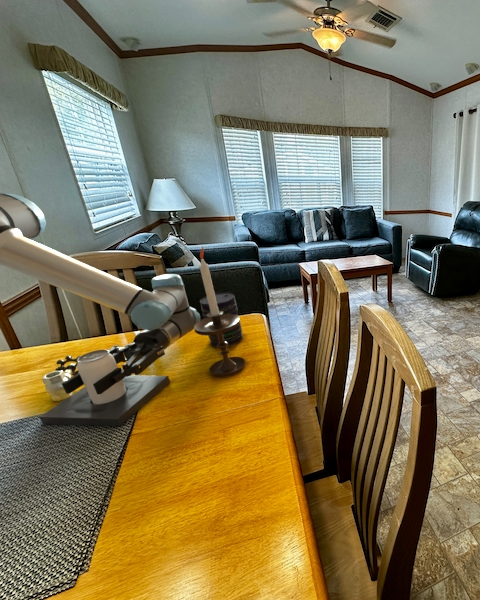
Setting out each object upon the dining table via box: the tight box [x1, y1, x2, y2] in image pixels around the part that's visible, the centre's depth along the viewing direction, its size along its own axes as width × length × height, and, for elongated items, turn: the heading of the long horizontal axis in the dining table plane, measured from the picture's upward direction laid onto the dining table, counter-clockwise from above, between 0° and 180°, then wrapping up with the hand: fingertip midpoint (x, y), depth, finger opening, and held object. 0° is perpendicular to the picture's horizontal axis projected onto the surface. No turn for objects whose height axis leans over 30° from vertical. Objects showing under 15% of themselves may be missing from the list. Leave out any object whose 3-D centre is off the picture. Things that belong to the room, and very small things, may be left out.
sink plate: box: [39, 374, 171, 427], centre depth 80 cm, size 18×16×2 cm
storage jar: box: [199, 292, 244, 348], centre depth 105 cm, size 10×10×15 cm
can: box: [76, 349, 127, 404], centre depth 77 cm, size 6×6×12 cm
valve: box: [41, 354, 81, 402], centre depth 83 cm, size 7×7×12 cm
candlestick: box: [193, 246, 246, 378], centre depth 86 cm, size 11×11×35 cm
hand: (81, 388), depth 72 cm, fingers closed on can, 6 cm apart
